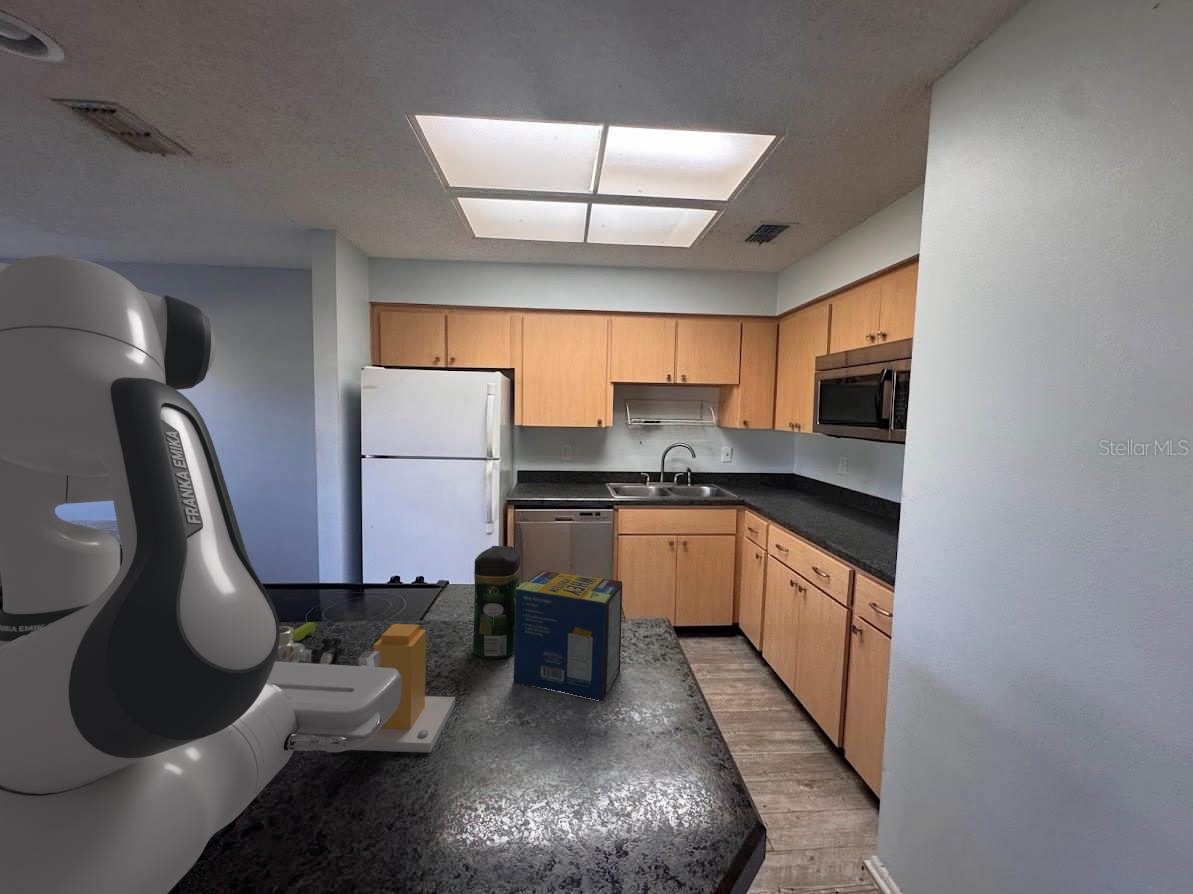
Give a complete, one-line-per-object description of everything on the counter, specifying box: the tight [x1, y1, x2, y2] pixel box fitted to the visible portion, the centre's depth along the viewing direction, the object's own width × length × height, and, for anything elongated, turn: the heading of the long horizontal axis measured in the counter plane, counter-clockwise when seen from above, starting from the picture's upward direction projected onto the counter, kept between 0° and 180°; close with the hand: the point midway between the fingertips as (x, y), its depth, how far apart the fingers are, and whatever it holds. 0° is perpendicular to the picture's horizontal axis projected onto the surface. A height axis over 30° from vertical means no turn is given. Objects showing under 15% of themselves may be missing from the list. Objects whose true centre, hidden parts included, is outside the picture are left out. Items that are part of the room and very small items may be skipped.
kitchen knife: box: [292, 621, 317, 642], centre depth 78 cm, size 22×1×3 cm, turn 0°
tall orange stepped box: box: [372, 623, 427, 729], centre depth 63 cm, size 5×5×12 cm
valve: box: [279, 625, 346, 665], centre depth 75 cm, size 7×7×12 cm
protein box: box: [512, 570, 623, 701], centre depth 77 cm, size 10×15×16 cm
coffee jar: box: [472, 545, 521, 660], centre depth 86 cm, size 10×8×19 cm
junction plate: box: [350, 695, 456, 753], centre depth 63 cm, size 12×10×7 cm
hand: (330, 654), depth 50 cm, fingers open, 8 cm apart
